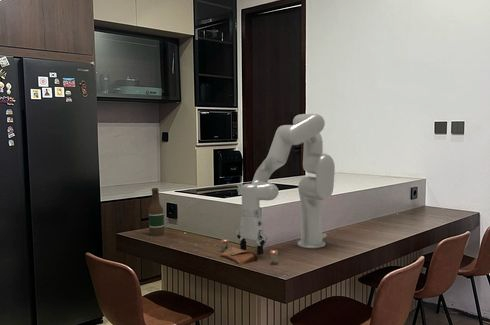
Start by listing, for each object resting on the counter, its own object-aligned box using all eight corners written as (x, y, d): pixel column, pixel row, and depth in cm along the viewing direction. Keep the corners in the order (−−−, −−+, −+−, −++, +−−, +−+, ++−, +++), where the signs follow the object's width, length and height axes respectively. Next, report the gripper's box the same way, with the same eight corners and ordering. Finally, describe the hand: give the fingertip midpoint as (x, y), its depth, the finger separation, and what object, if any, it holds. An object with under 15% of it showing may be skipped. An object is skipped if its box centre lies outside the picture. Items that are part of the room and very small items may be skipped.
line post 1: (225, 249, 215) (224, 238, 215) (230, 251, 213) (229, 239, 213) (220, 251, 213) (219, 240, 212) (225, 252, 211) (224, 241, 210)
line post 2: (273, 261, 196) (273, 249, 196) (279, 263, 194) (279, 250, 193) (268, 263, 194) (268, 251, 193) (274, 265, 192) (274, 252, 191)
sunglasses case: (216, 255, 207) (222, 241, 208) (228, 260, 211) (234, 246, 212) (241, 265, 193) (247, 249, 194) (253, 270, 196) (259, 255, 198)
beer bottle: (146, 234, 247) (144, 188, 245) (159, 231, 252) (157, 186, 250) (154, 237, 241) (152, 189, 239) (167, 234, 247) (165, 188, 244)
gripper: (272, 214, 200) (272, 254, 202) (242, 209, 212) (243, 247, 213) (260, 217, 195) (261, 258, 196) (230, 212, 206) (231, 250, 208)
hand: (251, 252), depth 205 cm, fingers open, 9 cm apart
